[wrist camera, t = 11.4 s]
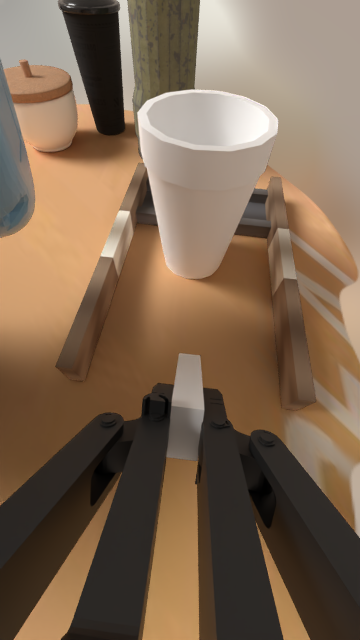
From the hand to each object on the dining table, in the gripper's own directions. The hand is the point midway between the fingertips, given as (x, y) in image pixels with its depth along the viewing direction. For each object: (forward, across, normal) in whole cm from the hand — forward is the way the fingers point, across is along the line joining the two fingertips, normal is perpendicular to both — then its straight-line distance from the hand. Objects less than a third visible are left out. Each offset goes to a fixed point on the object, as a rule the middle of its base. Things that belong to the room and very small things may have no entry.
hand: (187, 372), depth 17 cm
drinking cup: (+33, -17, +29) cm, 47 cm away
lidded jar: (+28, -25, +24) cm, 45 cm away
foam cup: (+13, -1, +8) cm, 15 cm away
